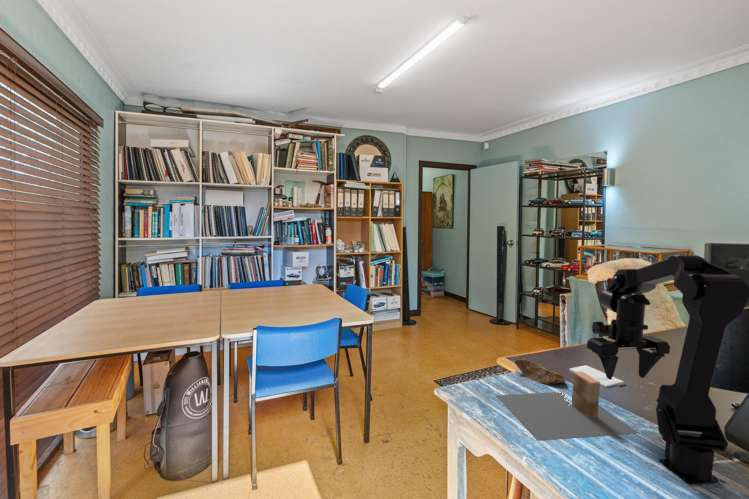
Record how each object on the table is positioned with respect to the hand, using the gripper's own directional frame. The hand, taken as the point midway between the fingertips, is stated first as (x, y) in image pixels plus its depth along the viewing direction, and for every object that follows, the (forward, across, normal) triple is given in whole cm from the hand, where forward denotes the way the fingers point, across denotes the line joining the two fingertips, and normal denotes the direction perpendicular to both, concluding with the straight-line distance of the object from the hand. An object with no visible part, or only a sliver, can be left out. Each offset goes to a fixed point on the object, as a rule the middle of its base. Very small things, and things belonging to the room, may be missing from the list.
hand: (625, 378), depth 91 cm
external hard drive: (+9, -7, -18) cm, 22 cm away
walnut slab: (+8, +11, 0) cm, 14 cm away
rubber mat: (+9, +17, 0) cm, 19 cm away
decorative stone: (+9, +10, -20) cm, 24 cm away
